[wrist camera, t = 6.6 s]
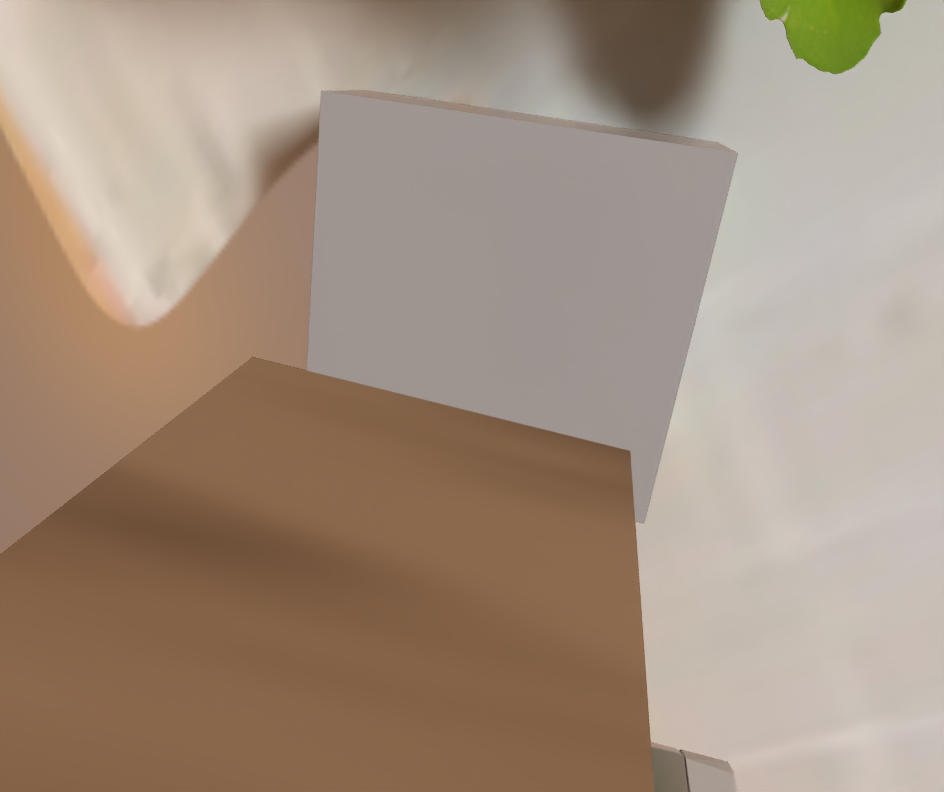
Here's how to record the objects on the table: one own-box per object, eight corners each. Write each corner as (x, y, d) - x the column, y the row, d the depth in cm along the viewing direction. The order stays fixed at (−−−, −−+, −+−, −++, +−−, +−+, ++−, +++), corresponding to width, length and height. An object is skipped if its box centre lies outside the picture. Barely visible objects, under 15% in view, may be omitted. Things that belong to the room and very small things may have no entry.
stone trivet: (639, 458, 31) (644, 523, 26) (347, 401, 32) (302, 454, 27) (716, 141, 26) (738, 153, 21) (370, 90, 27) (321, 90, 23)
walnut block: (539, 739, 12) (461, 1526, 5) (225, 652, 12) (-200, 1294, 6) (630, 450, 10) (679, 1150, 3) (252, 357, 10) (-354, 830, 4)
